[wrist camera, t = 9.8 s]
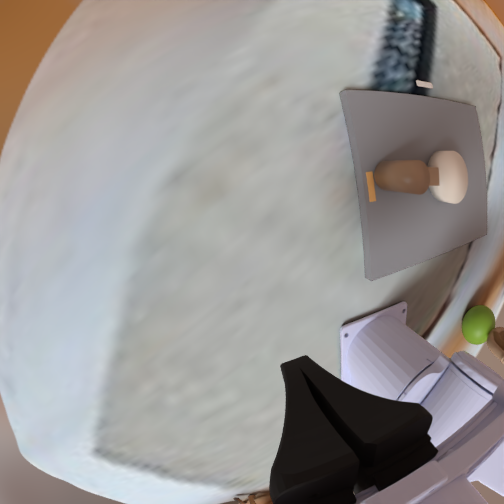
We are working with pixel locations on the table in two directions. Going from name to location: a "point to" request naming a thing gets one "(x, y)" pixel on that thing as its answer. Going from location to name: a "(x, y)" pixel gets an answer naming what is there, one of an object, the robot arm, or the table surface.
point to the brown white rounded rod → (426, 176)
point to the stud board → (413, 148)
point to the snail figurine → (484, 330)
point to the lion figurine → (251, 498)
